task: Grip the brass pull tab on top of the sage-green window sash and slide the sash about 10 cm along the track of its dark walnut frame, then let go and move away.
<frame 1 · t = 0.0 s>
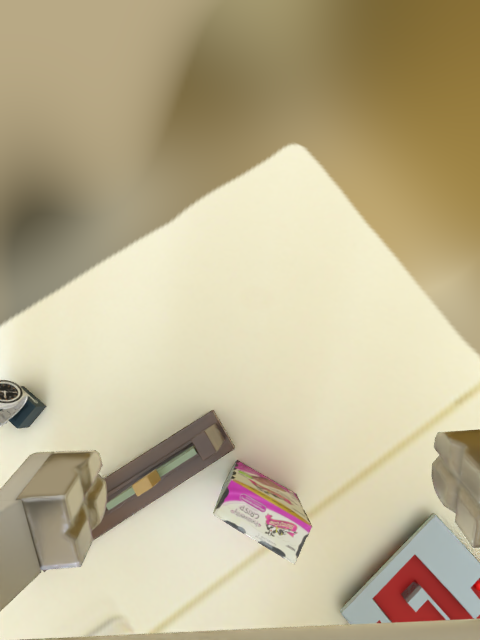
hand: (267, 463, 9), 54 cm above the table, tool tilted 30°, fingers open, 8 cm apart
watch: (27, 405, 63), on the table
window frame: (135, 485, 60), on the table
candy bar box: (259, 488, 60), on the table
window pane: (161, 471, 50), point 11 cm above the table, slide at 0.0 cm
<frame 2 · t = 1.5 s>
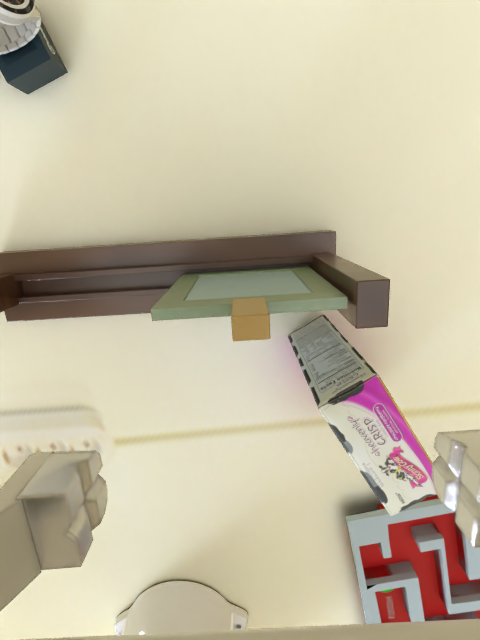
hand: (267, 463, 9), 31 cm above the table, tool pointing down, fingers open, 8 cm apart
watch: (32, 51, 33), on the table
window frame: (169, 274, 39), on the table
maze game: (429, 587, 51), on the table
candy bar box: (329, 361, 42), on the table
window pane: (247, 292, 28), point 11 cm above the table, slide at 0.0 cm
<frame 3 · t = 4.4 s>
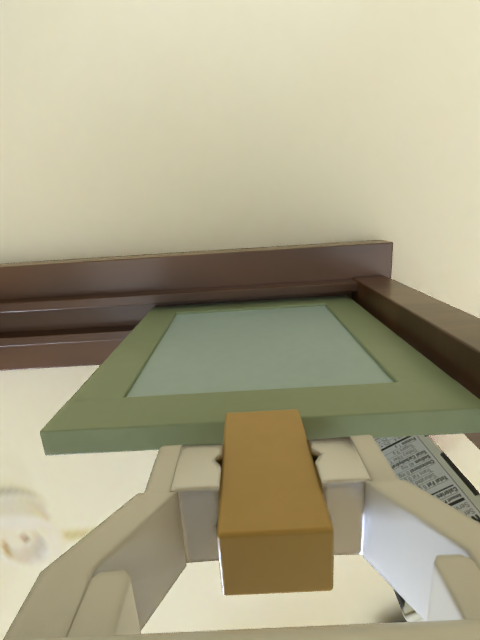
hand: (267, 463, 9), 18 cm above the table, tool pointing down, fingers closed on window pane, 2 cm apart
window frame: (135, 305, 26), on the table
candy bar box: (371, 428, 29), on the table
window pane: (255, 361, 15), point 11 cm above the table, slide at 0.0 cm, touching gripper
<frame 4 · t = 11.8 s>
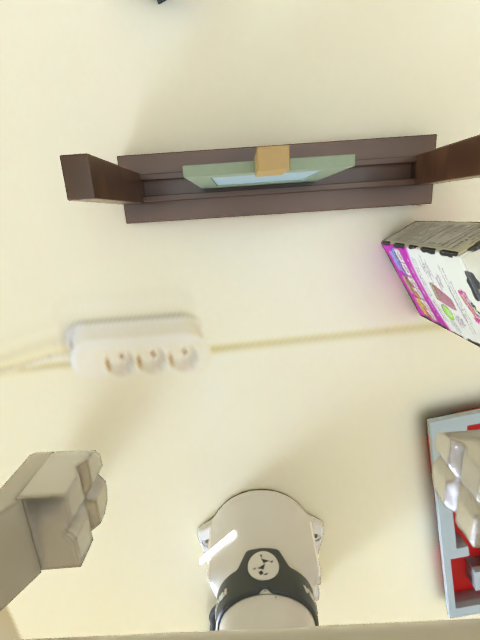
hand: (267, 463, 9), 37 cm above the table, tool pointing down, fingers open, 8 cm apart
window frame: (275, 181, 42), on the table
candy bar box: (417, 268, 45), on the table
window pane: (264, 172, 31), point 11 cm above the table, slide at 10.0 cm
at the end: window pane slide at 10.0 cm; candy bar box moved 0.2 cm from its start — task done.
